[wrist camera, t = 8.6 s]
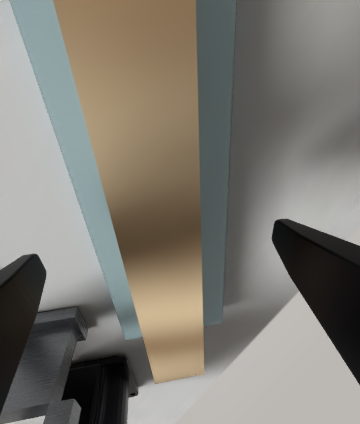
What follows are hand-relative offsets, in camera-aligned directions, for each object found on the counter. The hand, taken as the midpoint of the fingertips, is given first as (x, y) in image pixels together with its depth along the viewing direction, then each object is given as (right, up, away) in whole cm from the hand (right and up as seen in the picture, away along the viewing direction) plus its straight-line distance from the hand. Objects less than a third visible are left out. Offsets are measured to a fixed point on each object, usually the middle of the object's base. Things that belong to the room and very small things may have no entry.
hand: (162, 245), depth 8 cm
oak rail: (0, +1, +2) cm, 3 cm away
